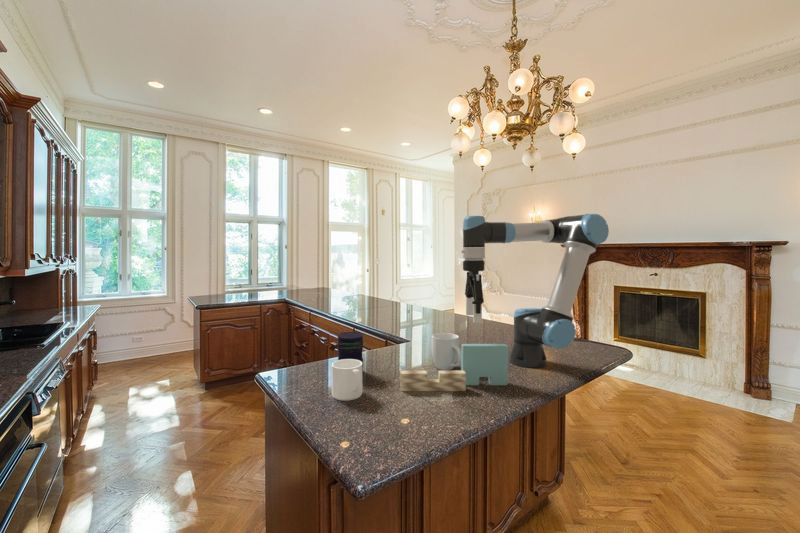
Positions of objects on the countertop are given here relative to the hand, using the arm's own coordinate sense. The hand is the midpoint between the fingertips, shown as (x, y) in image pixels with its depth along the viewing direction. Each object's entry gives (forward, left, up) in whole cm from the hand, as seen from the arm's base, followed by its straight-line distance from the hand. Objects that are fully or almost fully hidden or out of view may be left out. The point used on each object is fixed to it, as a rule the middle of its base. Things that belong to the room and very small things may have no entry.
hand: (473, 318), depth 127 cm
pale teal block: (-4, +2, -23) cm, 23 cm away
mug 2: (+7, -14, -23) cm, 28 cm away
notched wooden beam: (+15, +7, -23) cm, 28 cm away
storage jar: (+45, -9, -23) cm, 52 cm away
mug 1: (+43, +12, -23) cm, 51 cm away
